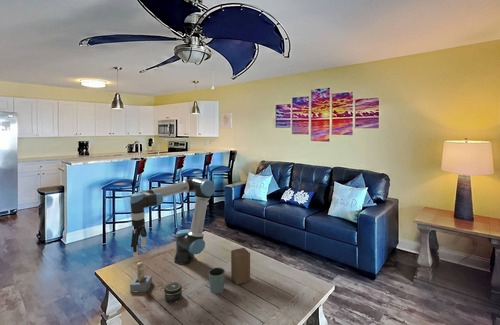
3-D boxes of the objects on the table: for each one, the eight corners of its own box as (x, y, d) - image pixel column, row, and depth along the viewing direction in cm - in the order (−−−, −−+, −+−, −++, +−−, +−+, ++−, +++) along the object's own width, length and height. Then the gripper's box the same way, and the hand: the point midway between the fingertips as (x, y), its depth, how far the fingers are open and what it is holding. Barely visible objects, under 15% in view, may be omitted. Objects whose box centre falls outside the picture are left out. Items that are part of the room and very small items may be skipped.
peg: (145, 285, 172) (144, 261, 170) (143, 289, 168) (142, 265, 166) (139, 285, 172) (138, 262, 170) (137, 289, 168) (135, 265, 166)
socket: (152, 282, 175) (151, 275, 175) (146, 291, 165) (146, 284, 165) (136, 283, 175) (136, 275, 174) (130, 292, 165) (129, 284, 164)
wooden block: (237, 285, 172) (236, 256, 170) (230, 278, 181) (230, 249, 179) (250, 281, 177) (250, 252, 174) (244, 274, 186) (244, 246, 183)
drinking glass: (211, 295, 162) (210, 277, 160) (207, 286, 171) (206, 269, 169) (227, 291, 166) (227, 273, 164) (222, 283, 175) (222, 265, 173)
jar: (168, 292, 165) (168, 281, 164) (184, 293, 164) (184, 281, 163) (161, 303, 155) (161, 290, 154) (178, 304, 154) (178, 291, 153)
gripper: (139, 212, 177) (141, 243, 179) (123, 226, 152) (125, 261, 155) (150, 212, 177) (152, 242, 180) (136, 225, 152) (138, 261, 155)
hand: (139, 251), depth 167 cm, fingers open, 13 cm apart
